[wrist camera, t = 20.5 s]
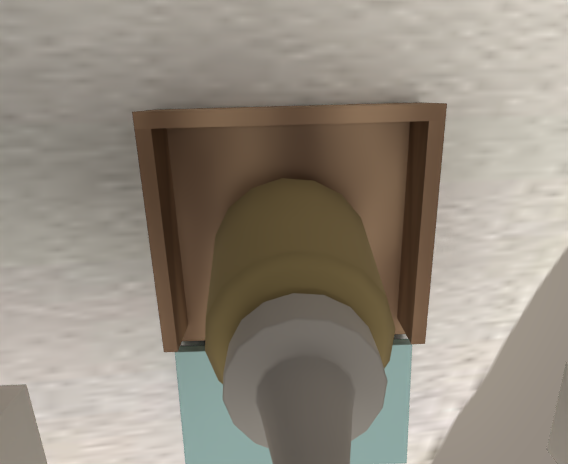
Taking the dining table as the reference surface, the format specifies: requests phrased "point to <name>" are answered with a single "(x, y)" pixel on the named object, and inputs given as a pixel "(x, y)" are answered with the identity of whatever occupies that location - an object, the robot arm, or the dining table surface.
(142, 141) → the crate
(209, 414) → the panel
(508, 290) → the dining table surface
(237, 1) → the dining table surface
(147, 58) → the dining table surface
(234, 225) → the squeeze bottle
